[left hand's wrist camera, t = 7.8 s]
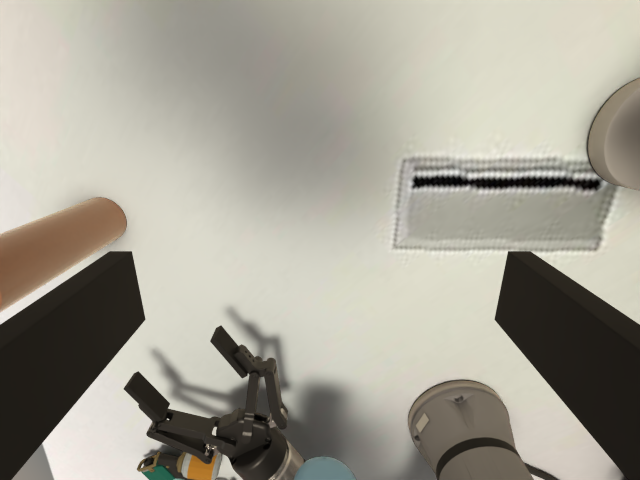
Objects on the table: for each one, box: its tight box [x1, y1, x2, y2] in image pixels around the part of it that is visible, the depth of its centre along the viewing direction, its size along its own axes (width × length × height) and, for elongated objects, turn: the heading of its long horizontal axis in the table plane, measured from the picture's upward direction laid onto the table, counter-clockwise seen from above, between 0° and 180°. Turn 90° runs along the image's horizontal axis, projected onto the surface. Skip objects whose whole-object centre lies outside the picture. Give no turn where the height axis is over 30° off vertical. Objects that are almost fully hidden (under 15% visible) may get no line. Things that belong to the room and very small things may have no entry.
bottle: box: [0, 197, 126, 312], centre depth 34 cm, size 6×6×25 cm
